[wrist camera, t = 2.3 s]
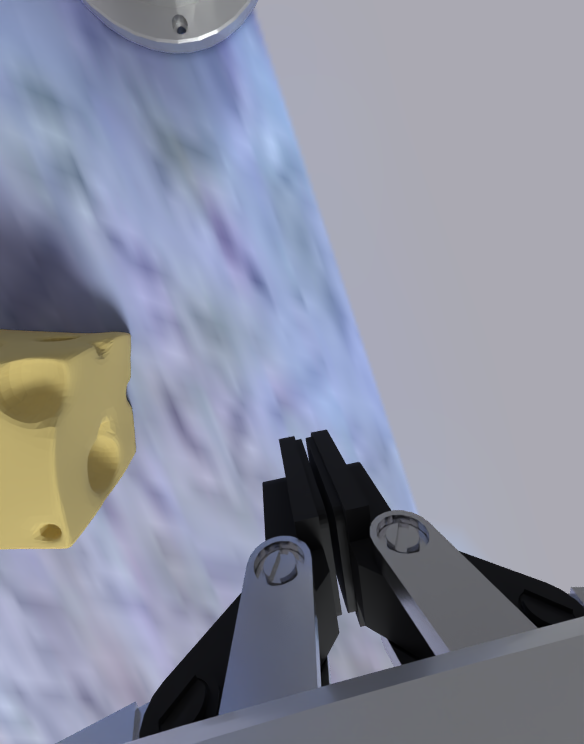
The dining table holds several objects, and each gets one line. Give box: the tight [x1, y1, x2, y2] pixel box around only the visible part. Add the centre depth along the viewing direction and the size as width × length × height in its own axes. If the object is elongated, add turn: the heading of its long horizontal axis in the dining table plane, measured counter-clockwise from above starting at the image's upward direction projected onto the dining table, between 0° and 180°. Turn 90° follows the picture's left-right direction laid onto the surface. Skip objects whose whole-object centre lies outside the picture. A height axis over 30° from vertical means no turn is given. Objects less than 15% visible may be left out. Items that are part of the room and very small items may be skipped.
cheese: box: [0, 329, 136, 549], centre depth 18 cm, size 10×11×10 cm
